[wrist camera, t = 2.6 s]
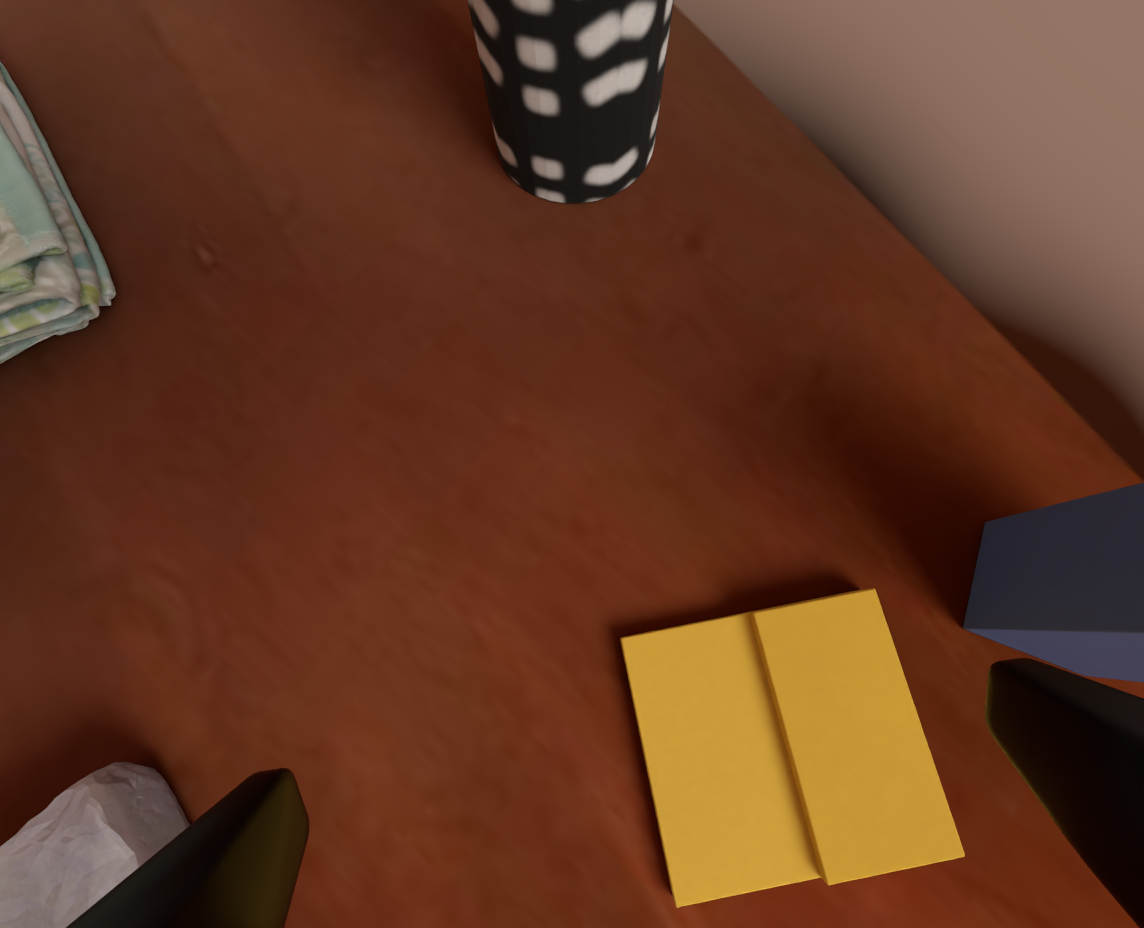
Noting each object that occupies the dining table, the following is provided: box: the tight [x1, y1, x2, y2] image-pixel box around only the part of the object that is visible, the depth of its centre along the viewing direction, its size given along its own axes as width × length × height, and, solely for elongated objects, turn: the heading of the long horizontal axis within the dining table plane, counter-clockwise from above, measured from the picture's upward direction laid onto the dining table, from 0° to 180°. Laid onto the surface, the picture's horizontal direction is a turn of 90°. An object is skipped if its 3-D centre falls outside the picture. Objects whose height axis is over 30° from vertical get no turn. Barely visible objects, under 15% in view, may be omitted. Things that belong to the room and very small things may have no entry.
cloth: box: [620, 589, 965, 907], centre depth 20 cm, size 9×10×1 cm
